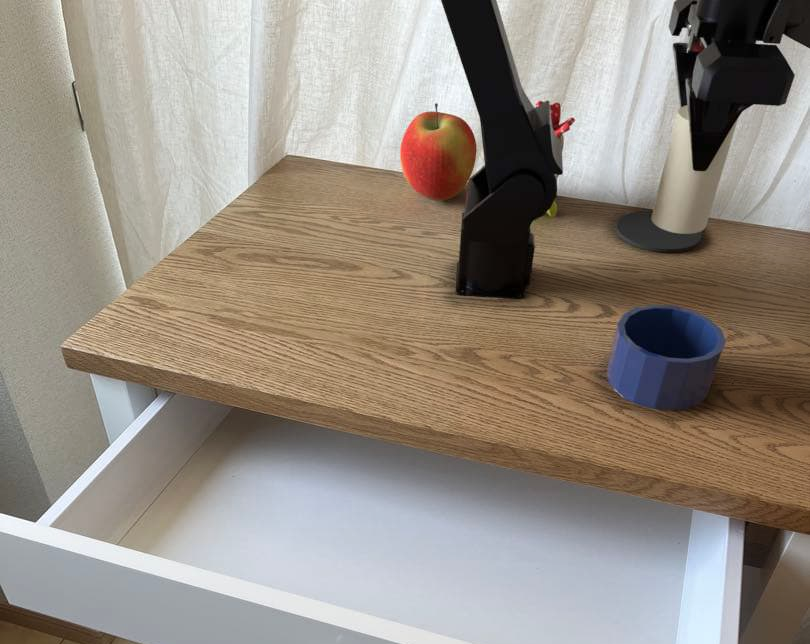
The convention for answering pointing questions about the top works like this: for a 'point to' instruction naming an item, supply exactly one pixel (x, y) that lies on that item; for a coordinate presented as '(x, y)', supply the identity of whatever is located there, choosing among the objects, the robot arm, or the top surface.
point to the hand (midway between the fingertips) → (695, 158)
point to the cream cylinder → (687, 182)
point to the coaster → (653, 234)
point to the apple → (438, 154)
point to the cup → (664, 357)
